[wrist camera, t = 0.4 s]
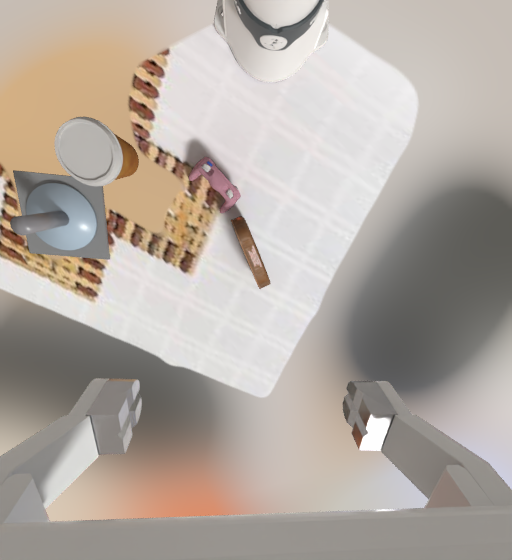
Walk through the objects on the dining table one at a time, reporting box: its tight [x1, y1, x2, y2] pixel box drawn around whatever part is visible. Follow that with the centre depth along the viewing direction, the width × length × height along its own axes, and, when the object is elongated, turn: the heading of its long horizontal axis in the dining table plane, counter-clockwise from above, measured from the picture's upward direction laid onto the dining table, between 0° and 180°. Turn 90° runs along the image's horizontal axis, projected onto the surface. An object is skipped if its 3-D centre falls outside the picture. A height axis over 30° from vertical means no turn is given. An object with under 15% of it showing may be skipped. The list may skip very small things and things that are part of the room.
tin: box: [231, 216, 270, 289], centre depth 53 cm, size 15×3×8 cm, turn 22°
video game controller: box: [189, 157, 240, 213], centre depth 50 cm, size 10×5×7 cm, turn 43°
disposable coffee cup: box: [55, 117, 139, 186], centre depth 44 cm, size 10×10×12 cm
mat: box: [13, 171, 110, 259], centre depth 53 cm, size 16×16×1 cm
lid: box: [10, 183, 97, 250], centre depth 48 cm, size 13×13×11 cm
